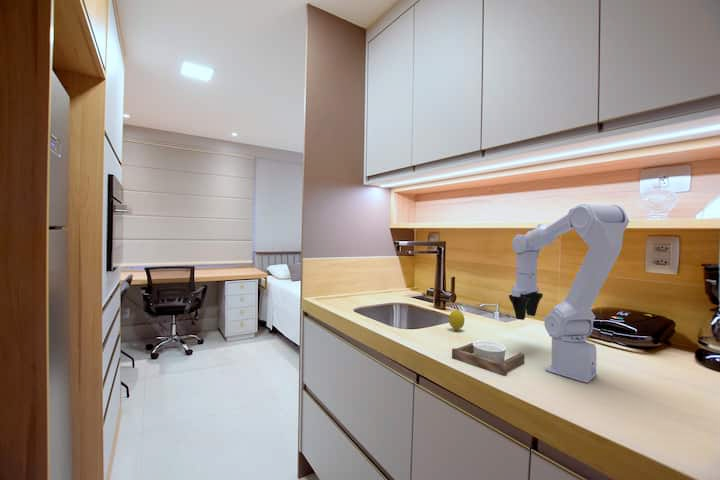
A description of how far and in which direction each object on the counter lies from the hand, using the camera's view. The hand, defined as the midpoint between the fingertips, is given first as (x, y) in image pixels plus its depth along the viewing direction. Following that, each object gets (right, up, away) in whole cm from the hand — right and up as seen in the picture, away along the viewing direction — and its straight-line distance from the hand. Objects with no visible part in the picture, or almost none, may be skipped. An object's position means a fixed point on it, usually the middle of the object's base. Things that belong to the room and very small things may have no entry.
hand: (525, 317), depth 99 cm
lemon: (-15, -10, +21) cm, 28 cm away
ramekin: (-15, -11, -8) cm, 20 cm away
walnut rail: (-14, -10, -8) cm, 19 cm away
